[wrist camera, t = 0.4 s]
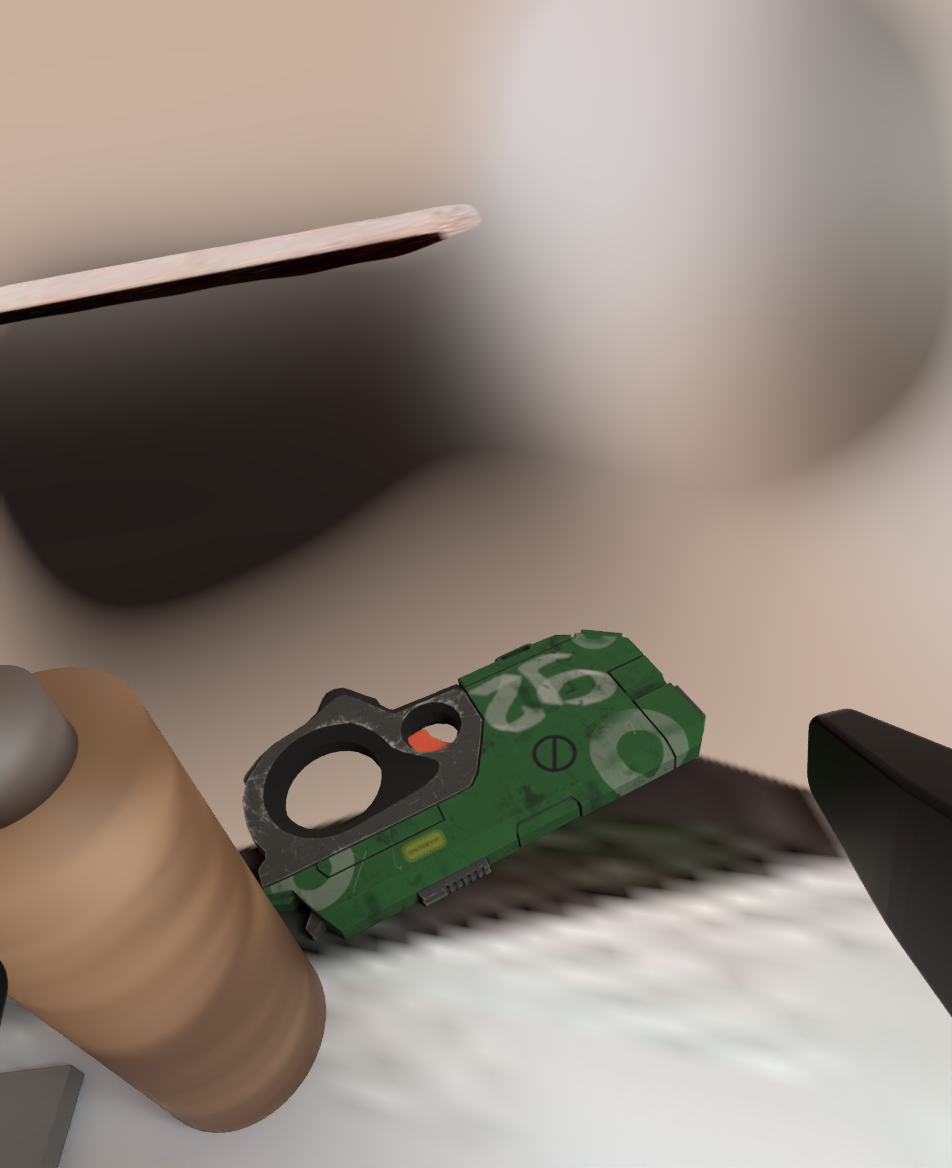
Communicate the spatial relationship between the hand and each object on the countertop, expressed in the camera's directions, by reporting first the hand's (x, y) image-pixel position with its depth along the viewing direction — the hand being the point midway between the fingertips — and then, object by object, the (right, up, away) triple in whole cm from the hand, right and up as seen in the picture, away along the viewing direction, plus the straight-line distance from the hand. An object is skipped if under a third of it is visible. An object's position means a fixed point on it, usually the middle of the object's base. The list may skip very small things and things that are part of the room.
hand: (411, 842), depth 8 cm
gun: (0, -4, +21) cm, 21 cm away
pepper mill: (-6, -10, +14) cm, 19 cm away
